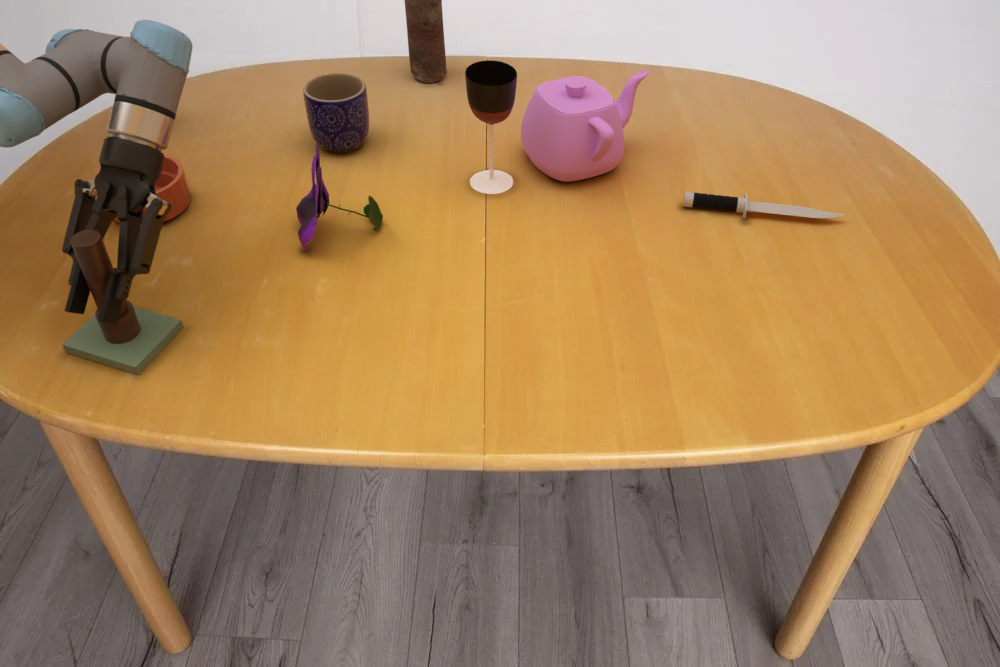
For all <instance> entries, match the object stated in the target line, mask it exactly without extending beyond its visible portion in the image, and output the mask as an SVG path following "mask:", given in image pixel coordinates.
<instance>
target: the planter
mask: <svg viewBox="0 0 1000 667" xmlns="http://www.w3.org/2000/svg"><path fill="white" fill-rule="evenodd" d="M302 91H303V92H302V94H303V101H304V107H305V113H306V118H307V122H308V123H307V124H308V128H309V131H310V134H311V136H312V139H313V140H314V141H315V143H316V144H317V143H318V147H320V148H322V149H323V150H325V151H328V152H331V153H338V154H341V153H348V152H352V151H354V150H356V149H358V148H360V147H361V146H362V145H363V144H364V143H365V141H366V139H367V138H368V135H369V133H370V109H369V98H368V91H367V84H366V82H365V80H364V79H363V78H361V77H360V76H358V75H356V74H352V73H348V72H328V73H323V74H319V75H317V76H314V77H312V78H310V79H309V80H307V82H306V83H305V84H304V85H303V87H302Z"/></svg>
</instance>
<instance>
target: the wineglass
mask: <svg viewBox="0 0 1000 667" xmlns="http://www.w3.org/2000/svg"><path fill="white" fill-rule="evenodd" d="M464 76H465V88H466V96H467V97H466V98H467V102H468V106H469V109H470V110H471V113H472V114H473V116H475V118H476V119H478V120H479V121H481V122H483V123H484V124H488V142H489V143H488V165H489V166H488V168H489V169H485V170H484V169H483V170H480V171H478V172H476V173H474V174H473V175H472V176H471V177H470V179H469V185H470V187H471V188H472V189H473V190H475V191H477V192H478V193H481V194H486V195H497V194H502V193H505V192H507V191H508V190H510V189H511V188H512V187H513V185H514V179H513V176H512V175H510V174H509V173H507V172H505V171H503V170H498V169H495V154H494V153H495V150H494V149H495V139H494V137H495V135H494V132H495V131H494V130H495V128H494V127H495V126H494V125H497V124H500V123H502V122H504V121H505V120H507V119H508V118H509V116H510V115H511V113H512V111H513V108H514V105H515V100H516V95H517V94H516V93H517V83H518V82H517V81H518V72H517V70H516V68H514V67H513V65H510V64H508V63H507V62H504V61H499V60H490V59H489V60H480V61H475V62H473V63H471V64H470V65H468V66H467V67H466V68H465V70H464Z"/></svg>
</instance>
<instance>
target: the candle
mask: <svg viewBox="0 0 1000 667" xmlns="http://www.w3.org/2000/svg"><path fill="white" fill-rule="evenodd" d="M403 1H404V10H405V21H406V31H407V32H406V33H407V47H408V48H407V49H408V59H409V67H410V73H411V75H412V76H413V78H414V79H417V80H418V81H421V82H422V83H424V84H433V83H436V82H439V81H442V80H443V78H444V77H445V76H446V74H447V73H448V72H447V69H448V68H447V58H446V57H447V56H446V44H445V30H444V29H445V28H444V18H443V17H444V15H443V0H403Z"/></svg>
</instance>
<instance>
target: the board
mask: <svg viewBox="0 0 1000 667" xmlns="http://www.w3.org/2000/svg"><path fill="white" fill-rule="evenodd" d="M133 308H134V310H135V313H136V316H137V318H138V321H139V324H140V326H141V330H140V333H139V334H138V335H137V336H136V337H135V338H134V339H132V340H131V341H128V342H126V343H121V344H113V343H110V342H108V341H107V340H106V339H105V338H104V335H103V333H102V331H101V328H100V326H99V323H98V321H97V319H96V316H95V314H94V315H93V316H92V317H90V318H89V319H88V320H87V321H85V323H84V324H83V325H82V326H81V327H80V328H79V329H77V331H75V332H74V333H73V334H72V335H71V336H69V338H68V339H66V341H65V342H63V343H62V344H61V345H62V347H63V350H64V352H65V353H66V354H69V355H73V356H76V357H79V358H82V359H85V360H89V361H92V362H95V363H98V364H102V365H105V366H107V367H112V368H115V369H118V370H122V371H124V372H128V373H131V374H134V375H137V376H139V375H140V374H141V373H142V372H143V371H144V370H145V369H146V368H147V367H148V366H149V365H150V364H151V363H152V362H153V361H154V359H155V358H156V357H157V356H158V355H159V354H160V353H161V352H162V351H163V350H164V349H165V348H166V347H167V346H168V345H169V344H170V343H171V342H172V341H173V340H174V338H176V336H177V335H178V334H179V333H180V332H181V331H182V330H184V328H185V327H184V324H183V321H182V319H180V318H176V317H173V316H169V315H166V314H163V313H158V312H155V311H152V310H148V309H145V308H142V307H138V306H135V305H133Z"/></svg>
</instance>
